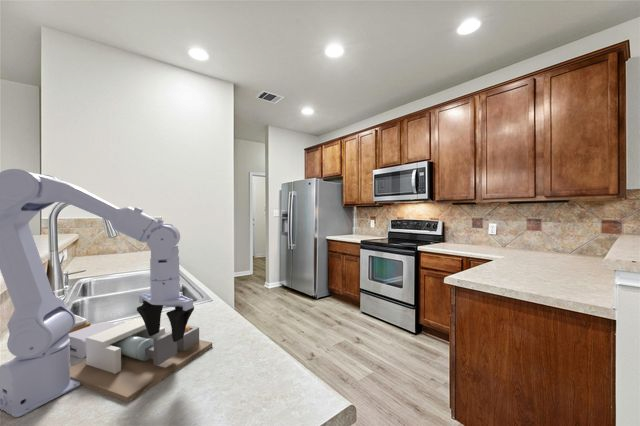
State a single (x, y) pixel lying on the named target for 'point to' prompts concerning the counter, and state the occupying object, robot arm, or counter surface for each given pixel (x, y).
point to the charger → (80, 337)
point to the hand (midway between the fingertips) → (165, 337)
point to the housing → (110, 356)
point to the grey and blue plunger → (148, 348)
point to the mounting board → (133, 373)
